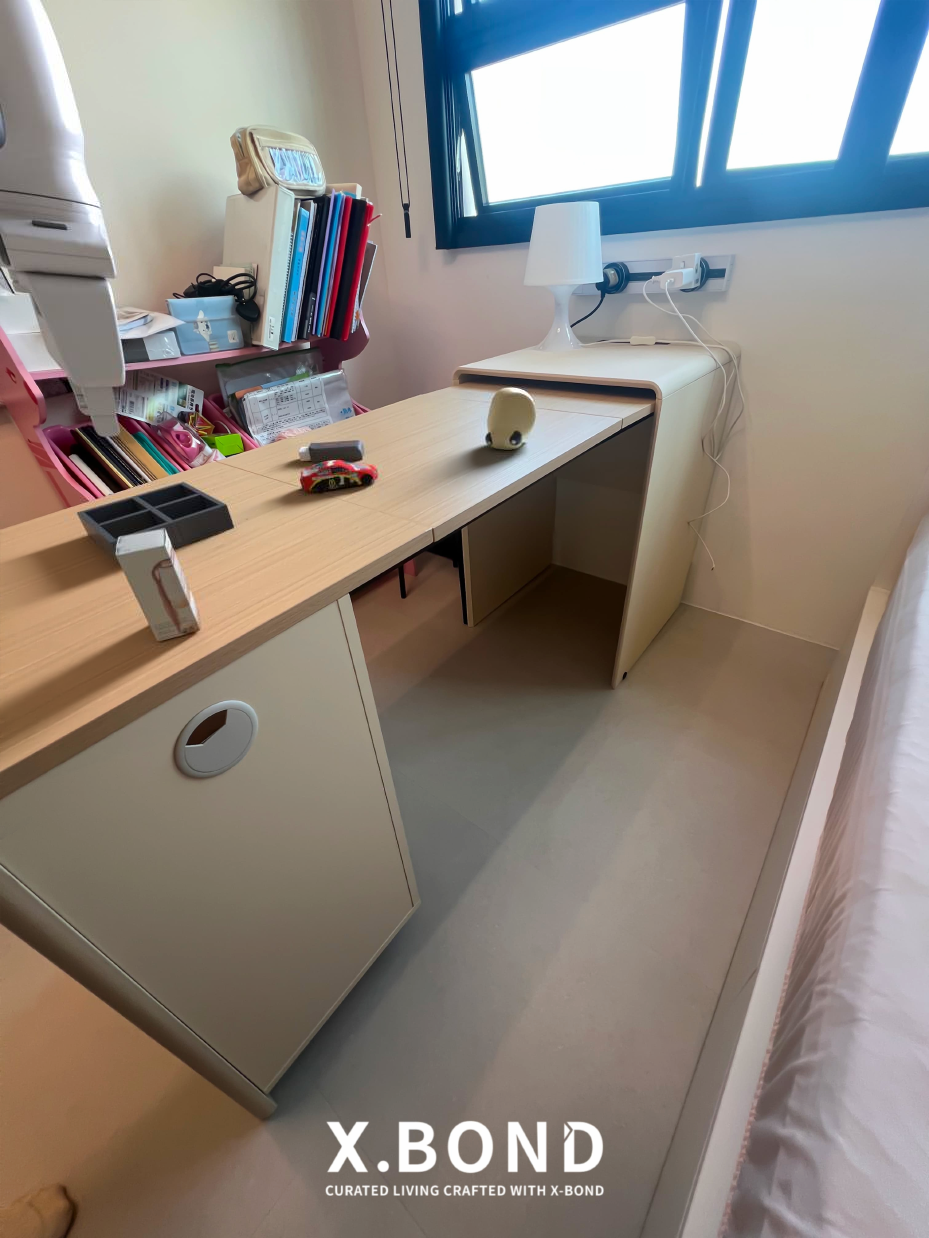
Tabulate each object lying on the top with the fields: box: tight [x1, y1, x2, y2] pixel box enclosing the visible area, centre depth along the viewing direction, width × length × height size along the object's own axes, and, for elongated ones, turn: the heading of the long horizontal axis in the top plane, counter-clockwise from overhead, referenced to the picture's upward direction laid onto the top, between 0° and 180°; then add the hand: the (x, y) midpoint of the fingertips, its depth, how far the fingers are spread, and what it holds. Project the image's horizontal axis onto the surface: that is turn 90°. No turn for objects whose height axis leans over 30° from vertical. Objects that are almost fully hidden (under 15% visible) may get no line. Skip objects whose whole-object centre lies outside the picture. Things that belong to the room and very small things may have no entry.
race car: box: [299, 460, 379, 494], centre depth 86 cm, size 13×5×4 cm, turn 108°
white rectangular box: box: [116, 528, 201, 642], centre depth 52 cm, size 5×4×10 cm
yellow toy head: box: [484, 387, 537, 451], centre depth 99 cm, size 10×12×11 cm
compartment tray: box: [76, 481, 235, 564], centre depth 74 cm, size 15×15×4 cm
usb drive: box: [298, 439, 365, 464], centre depth 99 cm, size 5×12×3 cm, turn 95°
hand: (99, 423), depth 49 cm, fingers open, 8 cm apart
